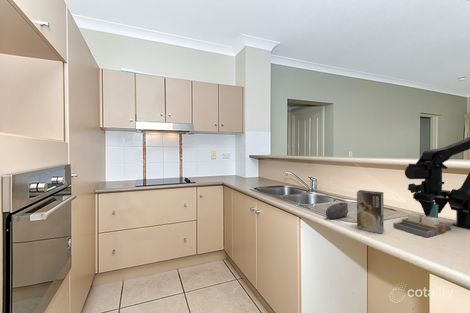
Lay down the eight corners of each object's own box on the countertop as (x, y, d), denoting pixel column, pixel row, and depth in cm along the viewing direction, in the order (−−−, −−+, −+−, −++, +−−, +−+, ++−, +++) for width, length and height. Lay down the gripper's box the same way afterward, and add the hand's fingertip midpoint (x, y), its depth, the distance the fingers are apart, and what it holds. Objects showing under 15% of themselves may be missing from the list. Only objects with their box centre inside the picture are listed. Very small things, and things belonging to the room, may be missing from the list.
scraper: (419, 222, 101) (419, 201, 101) (450, 230, 91) (450, 206, 91) (415, 223, 100) (416, 201, 100) (446, 231, 90) (447, 207, 90)
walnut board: (412, 223, 100) (412, 216, 100) (446, 232, 89) (446, 224, 89) (402, 225, 97) (402, 219, 96) (435, 235, 86) (435, 227, 86)
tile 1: (413, 218, 97) (413, 212, 97) (424, 220, 94) (424, 215, 94) (408, 219, 96) (408, 213, 96) (418, 222, 92) (418, 216, 92)
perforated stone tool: (330, 221, 104) (330, 206, 104) (321, 218, 109) (321, 204, 108) (351, 217, 110) (351, 203, 110) (342, 214, 115) (342, 201, 115)
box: (401, 225, 96) (401, 221, 96) (435, 235, 85) (435, 230, 85) (393, 227, 94) (393, 223, 94) (426, 237, 83) (426, 232, 83)
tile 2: (426, 221, 93) (426, 215, 93) (438, 224, 89) (438, 218, 89) (421, 222, 91) (421, 217, 91) (433, 225, 87) (433, 219, 87)
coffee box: (384, 229, 92) (384, 192, 91) (381, 234, 87) (381, 194, 87) (359, 225, 98) (360, 189, 98) (356, 228, 93) (356, 191, 93)
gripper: (423, 176, 106) (422, 207, 107) (399, 178, 99) (399, 212, 99) (453, 178, 96) (452, 213, 96) (430, 181, 88) (429, 219, 89)
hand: (432, 214), depth 95 cm, fingers open, 9 cm apart
